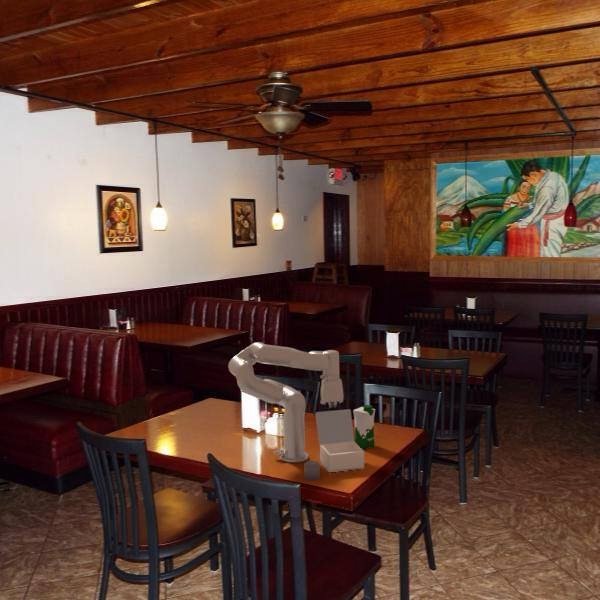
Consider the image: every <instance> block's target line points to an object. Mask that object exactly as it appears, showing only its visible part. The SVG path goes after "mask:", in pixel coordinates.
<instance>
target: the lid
mask: <svg viewBox="0 0 600 600" xmlns="http://www.w3.org/2000/svg"><path fill="white" fill-rule="evenodd" d="M315 420H316V428H317V430H316V431H317V436H318V437H317V439H318V446H320V445H321V444H330V443H340V442H350V441H354V442H355V434H354V429H353V419H352V410H351V409H350V408H349V409H338V410H336V411H329V410H327V411H325V410H324V411H317V412H315Z"/></svg>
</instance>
